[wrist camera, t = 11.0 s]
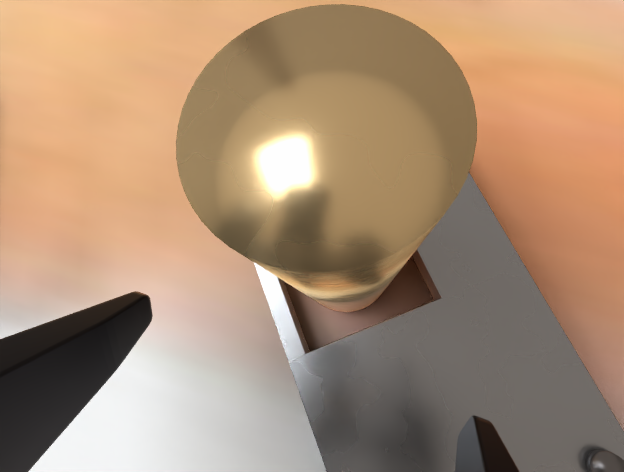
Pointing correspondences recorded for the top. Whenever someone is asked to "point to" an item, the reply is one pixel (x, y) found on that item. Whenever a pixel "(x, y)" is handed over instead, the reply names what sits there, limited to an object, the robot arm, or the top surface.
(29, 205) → the top surface
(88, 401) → the robot arm
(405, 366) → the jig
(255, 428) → the top surface
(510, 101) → the top surface
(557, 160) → the top surface
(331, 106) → the disc
